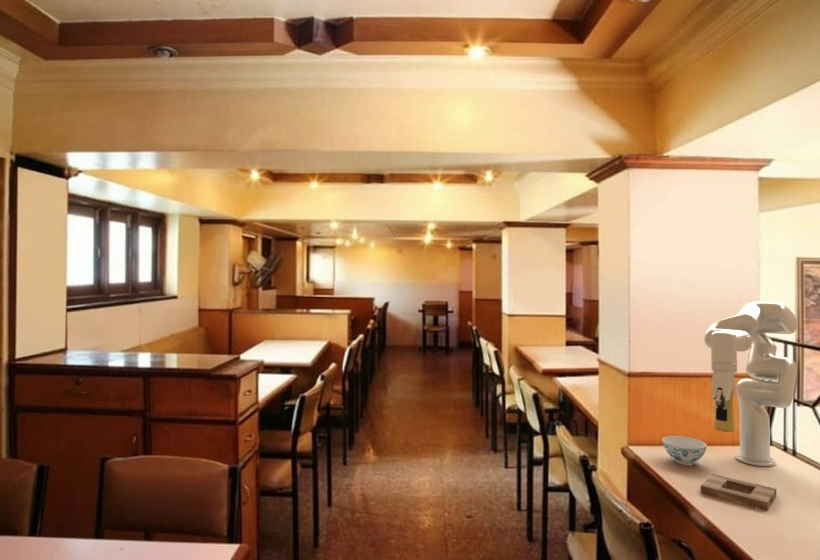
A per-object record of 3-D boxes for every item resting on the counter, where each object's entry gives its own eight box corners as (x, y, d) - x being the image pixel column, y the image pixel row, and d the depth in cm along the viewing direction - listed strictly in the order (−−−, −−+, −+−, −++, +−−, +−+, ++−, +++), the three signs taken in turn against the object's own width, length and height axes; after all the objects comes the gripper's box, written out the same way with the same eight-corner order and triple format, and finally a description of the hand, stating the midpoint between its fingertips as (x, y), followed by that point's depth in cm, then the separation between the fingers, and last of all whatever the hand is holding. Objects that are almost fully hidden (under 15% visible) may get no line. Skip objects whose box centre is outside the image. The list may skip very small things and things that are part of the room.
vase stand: (712, 480, 171) (712, 473, 171) (776, 496, 159) (776, 488, 159) (700, 493, 162) (700, 485, 162) (767, 510, 149) (767, 502, 149)
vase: (737, 433, 168) (737, 391, 168) (717, 431, 169) (717, 390, 169) (730, 428, 174) (730, 387, 174) (711, 426, 175) (711, 386, 175)
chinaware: (691, 454, 198) (691, 435, 198) (716, 468, 183) (715, 448, 183) (654, 455, 197) (654, 436, 197) (676, 469, 182) (676, 448, 182)
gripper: (719, 363, 180) (719, 412, 180) (704, 368, 169) (704, 421, 168) (743, 365, 175) (743, 416, 175) (729, 370, 163) (729, 425, 163)
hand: (724, 418), depth 172 cm, fingers closed on vase, 5 cm apart
